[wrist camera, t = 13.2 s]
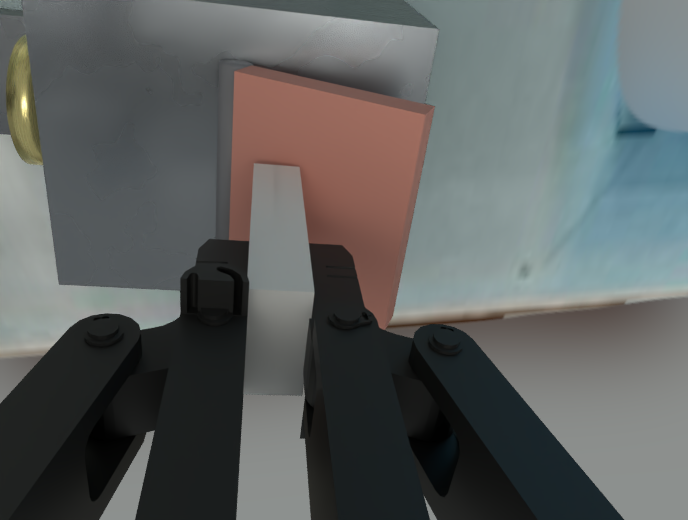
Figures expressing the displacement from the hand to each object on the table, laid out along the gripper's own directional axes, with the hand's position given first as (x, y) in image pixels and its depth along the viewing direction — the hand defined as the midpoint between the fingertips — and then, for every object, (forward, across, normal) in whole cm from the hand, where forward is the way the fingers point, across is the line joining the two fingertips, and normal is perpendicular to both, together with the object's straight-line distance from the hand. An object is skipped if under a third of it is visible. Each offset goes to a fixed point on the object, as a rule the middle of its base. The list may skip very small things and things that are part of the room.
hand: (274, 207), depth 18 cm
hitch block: (+12, -9, 0) cm, 15 cm away
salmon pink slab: (+2, -1, 0) cm, 2 cm away
